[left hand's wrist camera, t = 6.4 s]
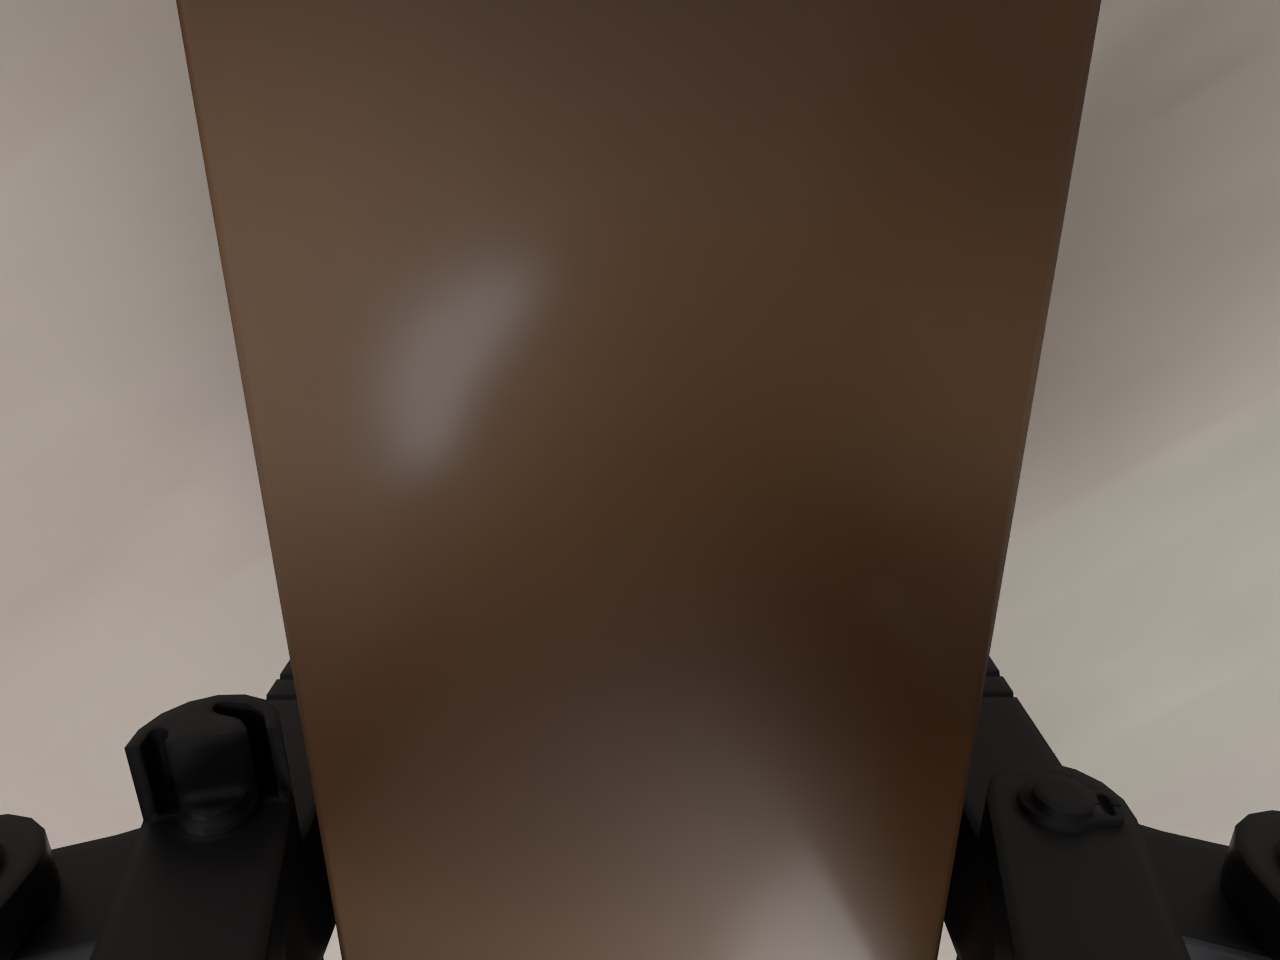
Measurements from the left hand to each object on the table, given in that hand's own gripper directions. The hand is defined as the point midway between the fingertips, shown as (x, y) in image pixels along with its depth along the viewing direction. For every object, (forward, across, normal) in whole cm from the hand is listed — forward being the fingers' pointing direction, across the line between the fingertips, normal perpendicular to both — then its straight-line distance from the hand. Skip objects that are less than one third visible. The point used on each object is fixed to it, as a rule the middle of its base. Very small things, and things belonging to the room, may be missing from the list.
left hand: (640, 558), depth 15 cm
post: (+1, 0, -25) cm, 25 cm away
